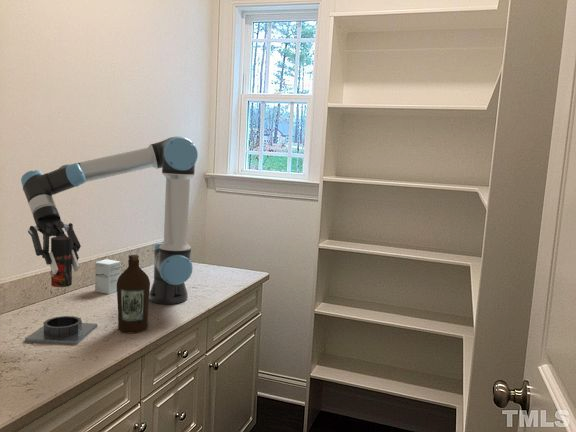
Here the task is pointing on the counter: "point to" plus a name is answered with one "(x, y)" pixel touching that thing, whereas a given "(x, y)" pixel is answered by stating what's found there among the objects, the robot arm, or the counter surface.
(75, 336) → the duct flange
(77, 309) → the counter surface
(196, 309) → the counter surface
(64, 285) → the deodorant
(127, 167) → the robot arm
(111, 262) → the supplement box
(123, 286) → the olive oil
